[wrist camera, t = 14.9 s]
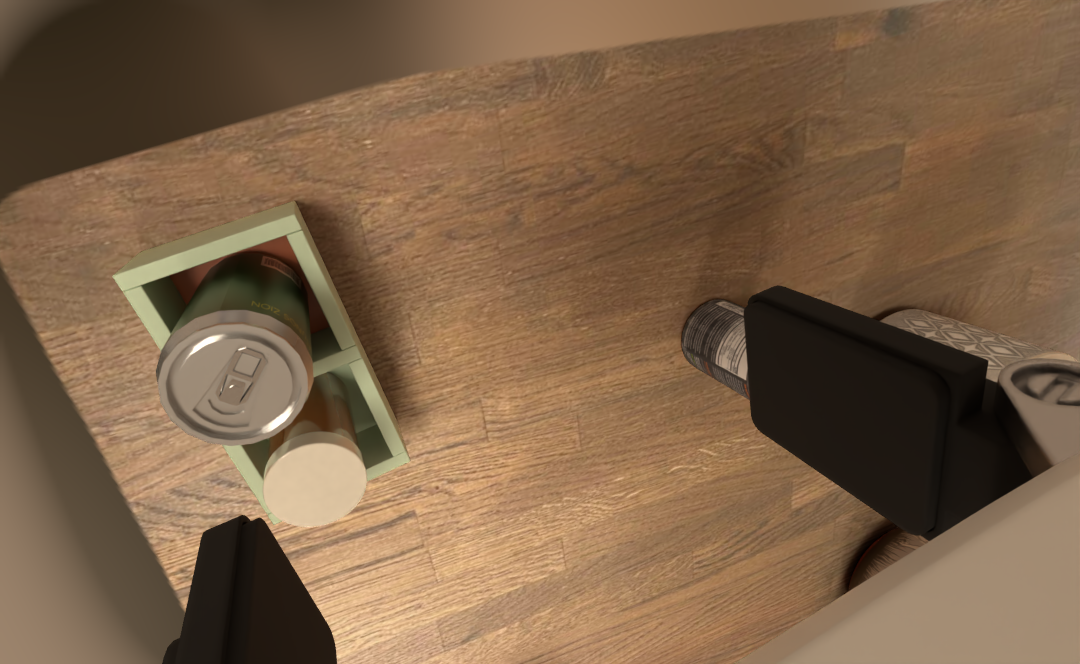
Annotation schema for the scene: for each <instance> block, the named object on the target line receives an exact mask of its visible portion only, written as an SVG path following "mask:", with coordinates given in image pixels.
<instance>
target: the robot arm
mask: <svg viewBox="0 0 1080 664" xmlns="http://www.w3.org/2000/svg"><path fill="white" fill-rule="evenodd" d="M744 328H745V341H746V354H747V367H748V380H749V393H750V407H751V417H752V420H753V423H754V424H755V426H756V427H757V429H758V430H759V431H760V432H762V433H763V434H764V435H766V436H767V437H769V438H770V439H772V440H773V441H775V442H776V443H777V444H779V445H780V446H782V447H783V448H785V449H786V450H788V451H789V452H791V453H792V454H793V455H795V456H796V457H798V458H799V459H801V460H802V461H804V462H805V463H807V464H808V465H809V466H811V467H812V468H814V469H815V470H817V471H818V472H820V473H821V474H823V475H824V476H825V477H827V478H828V479H830V480H831V481H833V482H834V483H836V484H837V485H839V486H840V487H841V488H843V489H844V490H846V491H847V492H849V493H850V494H852V495H853V496H855V497H856V498H857V499H859V500H860V501H862V502H863V503H865V504H866V505H868V506H869V507H871V508H872V509H874V510H875V511H876V512H878V513H879V514H881V515H882V516H884V517H885V518H887V519H888V520H890V521H891V522H892V523H894V524H895V525H897V526H898V527H900V528H901V529H903V530H904V531H906V532H907V533H909V534H911V535H915V536H922V537H923V538H925V539H926V540H928V541H929V542H928V543H926V544H924V545H923V546H921V547H919V548H918V549H916V550H915V551H913V552H911V553H910V554H908V555H907V556H905V557H903V558H902V559H900V560H898V561H897V562H895V563H894V564H892V565H890V566H889V567H887V568H886V569H884V570H882V571H881V572H879V573H878V574H876V575H874V576H873V577H871V578H869V579H868V580H866V581H865V582H863V583H861V584H860V585H858V586H857V587H855V588H853V589H852V590H850V591H849V592H847V593H846V594H844V595H842V596H841V597H839V598H838V599H836V600H834V601H833V602H831V603H830V604H828V605H826V606H825V607H823V608H822V609H820V610H818V611H817V612H815V613H814V614H812V615H810V616H809V617H807V618H806V619H804V620H802V621H801V622H799V623H798V624H796V625H794V626H793V627H791V628H790V629H788V630H786V631H785V632H783V633H782V634H780V635H779V636H777V637H775V638H774V639H772V640H771V641H769V642H767V643H766V644H764V645H763V646H761V647H759V648H758V649H756V650H755V651H753V652H752V653H750V654H748V655H747V656H745V657H744V658H742V659H740V660H739V661H737V662H736V663H734V664H1080V363H1079V362H1075V361H1068V360H1062V359H1049V358H1035V359H1026V360H1020V361H1017V362H1014V363H1010V364H1008V365H1007V366H1005V367H1004V368H1003V369H1001V371H1000V373H999V376H998V380H997V382H995V381H992V380H989V379H987V378H986V375H987V368H988V361H989V360H986V359H984V358H981V357H978V356H975V355H973V354H970V353H967V352H964V351H961V350H959V349H956V348H953V347H950V346H947V345H945V344H942V343H939V342H936V341H934V340H931V339H928V338H925V337H922V336H920V335H917V334H914V333H911V332H908V331H906V330H903V329H900V328H897V327H895V326H892V325H889V324H886V323H883V322H881V321H878V320H875V319H872V318H869V317H867V316H864V315H861V314H858V313H856V312H853V311H850V310H847V309H844V308H842V307H839V306H836V305H833V304H830V303H828V302H825V301H822V300H819V299H817V298H814V297H811V296H808V295H805V294H803V293H800V292H797V291H794V290H791V289H789V288H786V287H783V286H774V287H771V288H769V289H767V290H764V291H762V292H760V293H757V294H755V295H753V296H752V297H750V298H749V301H748V306H746V307H745V309H744ZM162 664H337V658H336V647H335V642H334V638H333V635H332V632H331V630H330V628H329V626H328V624H327V622H326V621H325V619H324V617H323V616H322V614H321V612H320V611H319V609H318V607H317V606H316V604H315V603H314V601H313V599H312V598H311V596H310V594H309V593H308V591H307V590H306V588H305V586H304V585H303V583H302V581H301V580H300V578H299V576H298V575H297V573H296V572H295V570H294V568H293V567H292V565H291V563H290V562H289V560H288V558H287V557H286V555H285V554H284V552H283V550H282V549H281V547H280V545H279V544H278V542H277V540H276V539H275V537H274V536H273V534H272V532H271V531H270V529H269V527H268V526H267V524H266V523H265V521H264V520H263V519H262V518H257V519H255V520H253V521H250V519H249V518H247V517H246V516H244V515H241V516H239V517H237V518H234V519H232V520H230V521H227V522H225V523H223V524H220V525H218V526H216V527H213V528H211V529H209V530H206V531H205V532H204V533H203V535H202V537H201V542H200V547H199V551H198V556H197V561H196V565H195V570H194V575H193V580H192V584H191V589H190V594H189V598H188V603H187V608H186V613H185V617H184V622H183V627H182V631H181V636H180V638H179V639H177V640H174V641H173V642H172V643H171V644H170V645H169V647H168V648H167V651H166V653H165V656H164V659H163V663H162Z"/></svg>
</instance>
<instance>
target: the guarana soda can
mask: <svg viewBox="0 0 1080 664" xmlns="http://www.w3.org/2000/svg"><path fill="white" fill-rule="evenodd" d="M156 376H157V382H158V389H159V396H160V403H161V404H162V406H163V408H164V410H165V411H166V413H167V415H168V416H169V418H170V420H171V421H172V422H173V423H175V424H176V425H177V426H178V427H179V428H181V429H182V430H183V431H184V432H185V433H187V434H188V435H191V436H193V437H195V438H198V439H200V440H202V441H205V442H207V443H212V444H220V445H227V446H236V445H245V444H253V443H256V442H259V441H261V440H264V439H267V438H269V437H272V436H274V435H276V434H277V433H279V432H280V431H281V430H283V429H284V428H285V427H287V426H288V425H290V424H291V423H292V421H293V420H294V419H295V417H296V416H297V415H298V413H299V412H300V411H301V409H302V408H303V405H304V403H305V402H306V401H307V399H308V397H309V393H310V390H311V387H312V384H313V381H314V378H313V359H312V346H311V333H310V320H309V306H308V293H307V291H306V288H305V286H304V284H303V281H302V279H301V278H300V277H299V276H298V274H297V273H296V272H295V271H294V270H293V269H292V268H291V267H290V266H289V265H287V264H285V263H284V262H282V261H281V260H279V259H277V258H274V257H271V256H267V255H264V254H260V253H241V254H238V255H234V256H231V257H227V258H225V259H223V260H222V261H220V262H219V263H217V264H216V265H214V266H213V267H211V268H210V270H209V271H208V273H207V274H206V275H205V277H204V278H203V279H202V281H201V282H200V284H199V286H198V288H197V289H196V291H195V293H194V295H193V296H192V298H191V300H190V302H189V303H188V305H187V307H186V309H185V310H184V312H183V314H182V315H181V317H180V319H179V321H178V322H177V324H176V326H175V328H174V329H173V331H172V333H171V335H170V336H169V338H168V340H167V342H166V343H165V345H164V347H163V349H162V350H161V354H160V358H159V361H158V365H157V369H156Z"/></svg>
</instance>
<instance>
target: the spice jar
mask: <svg viewBox="0 0 1080 664" xmlns="http://www.w3.org/2000/svg"><path fill="white" fill-rule="evenodd" d="M313 378H314V381H313V384H312V387H311V390H310V393H309V397H308V399H307V401H306V402H305V403H304V405H303V408H302V409H301V411H300V412H299V413H298V415H297V416H296V417H295V419H294V420H293V421H292V423H291V424H290V425H288V426H287V427H285V428H284V429H283V430H281V431H280V432H279V433H277V434H276V435H274V436H272V437H269V448H268V460H267V465H266V467H265V472H264V480H263V497H264V501H265V503H266V505H267V507H268V509H269V510H270V511H271V513H272V514H273V515H275V516H276V517H277V518H278V519H280V520H281V521H283V522H285V523H288V524H290V525H294V526H299V527H318V526H323V525H327V524H330V523H333V522H335V521H337V520H339V519H341V518H343V517H344V516H346V515H347V514H348V513H350V512H351V511H352V510H353V509H354V508H355V507H356V506H357V505H358V503H359V502H360V500H361V499H362V497H363V495H364V493H365V490H366V486H367V472H366V467H365V462H364V458H363V455H362V453H361V451H360V447H359V442H358V437H357V432H356V427H355V422H354V416H353V411H352V406H351V401H350V396H349V392H348V389H347V387H346V385H345V384H344V382H343V381H342V380H341V379H340V378H339V377H337V376H336V375H334V374H332V373H330V372H326V373H323V374H321V375H318V376H316V377H313Z"/></svg>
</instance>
